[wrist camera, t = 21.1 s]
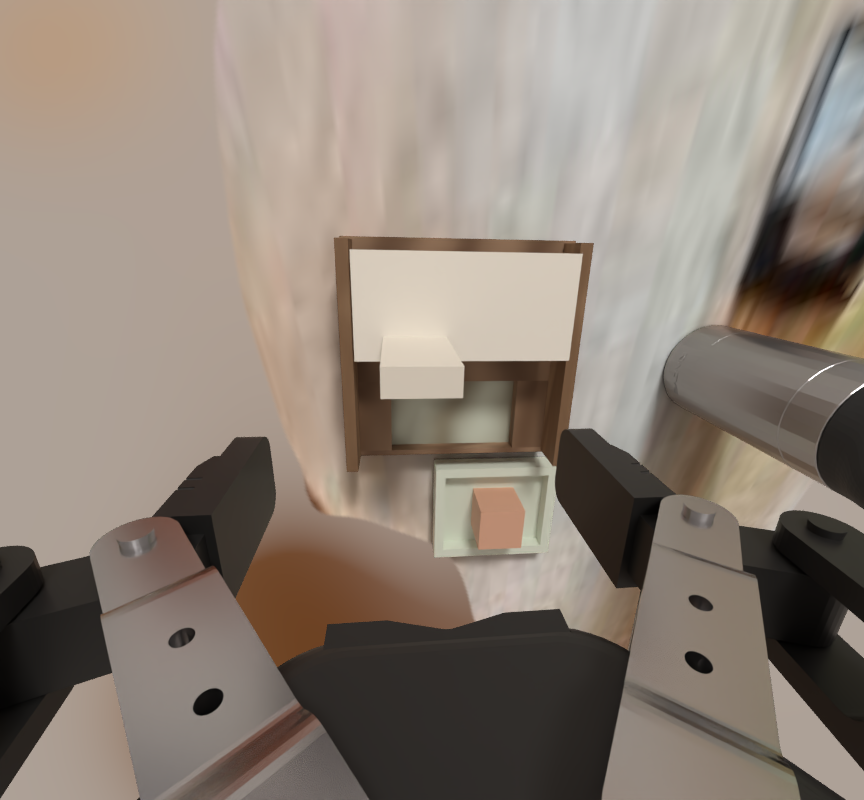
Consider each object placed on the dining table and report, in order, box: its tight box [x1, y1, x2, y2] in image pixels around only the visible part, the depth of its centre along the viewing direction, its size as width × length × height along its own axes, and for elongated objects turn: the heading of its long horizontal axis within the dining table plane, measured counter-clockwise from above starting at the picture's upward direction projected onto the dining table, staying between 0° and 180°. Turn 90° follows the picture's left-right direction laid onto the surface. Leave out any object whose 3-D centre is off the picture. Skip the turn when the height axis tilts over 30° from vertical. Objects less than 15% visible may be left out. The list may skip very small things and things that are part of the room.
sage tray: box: [432, 457, 556, 558], centre depth 47 cm, size 13×11×2 cm
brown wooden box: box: [334, 236, 594, 472], centre depth 39 cm, size 20×20×6 cm
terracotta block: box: [471, 487, 525, 550], centre depth 45 cm, size 4×4×4 cm
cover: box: [350, 249, 583, 399], centre depth 29 cm, size 18×8×10 cm, turn 89°
